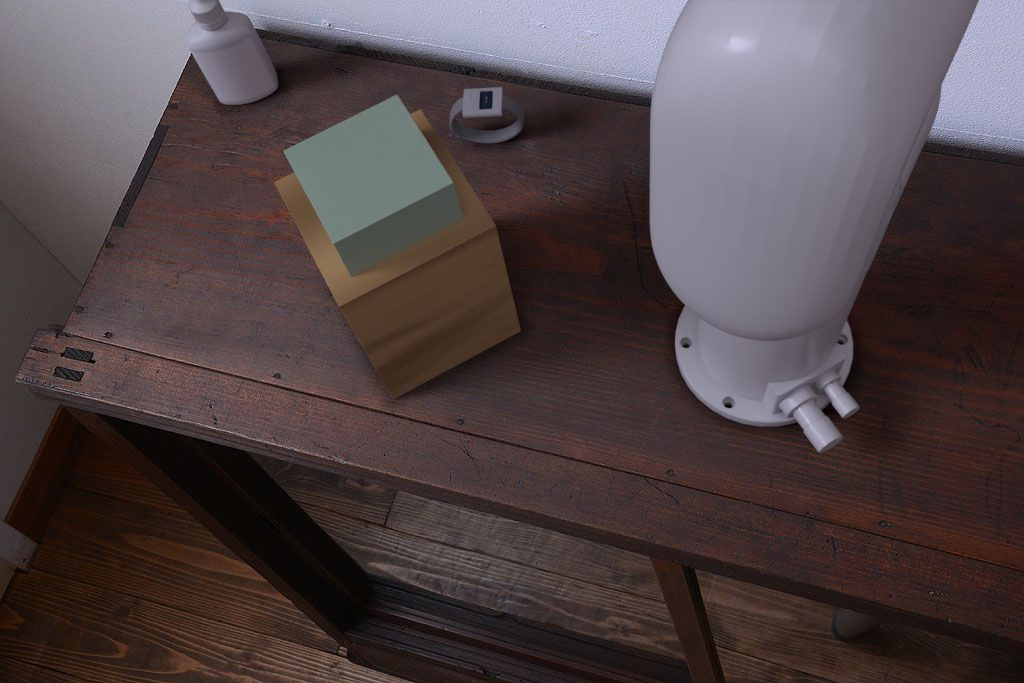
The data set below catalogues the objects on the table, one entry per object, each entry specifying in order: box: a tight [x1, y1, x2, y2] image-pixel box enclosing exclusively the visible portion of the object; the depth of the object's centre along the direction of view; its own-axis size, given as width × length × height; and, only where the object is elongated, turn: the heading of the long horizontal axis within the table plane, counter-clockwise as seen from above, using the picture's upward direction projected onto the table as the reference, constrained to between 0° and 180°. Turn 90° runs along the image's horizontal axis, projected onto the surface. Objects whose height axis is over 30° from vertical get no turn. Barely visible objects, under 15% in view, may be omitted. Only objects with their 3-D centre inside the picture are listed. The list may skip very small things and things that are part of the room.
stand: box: [274, 108, 522, 400], centre depth 69 cm, size 11×11×15 cm
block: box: [283, 94, 464, 277], centre depth 61 cm, size 8×8×4 cm
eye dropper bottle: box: [186, 0, 279, 106], centre depth 83 cm, size 4×6×12 cm
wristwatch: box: [448, 86, 525, 144], centre depth 80 cm, size 6×3×5 cm, turn 89°
